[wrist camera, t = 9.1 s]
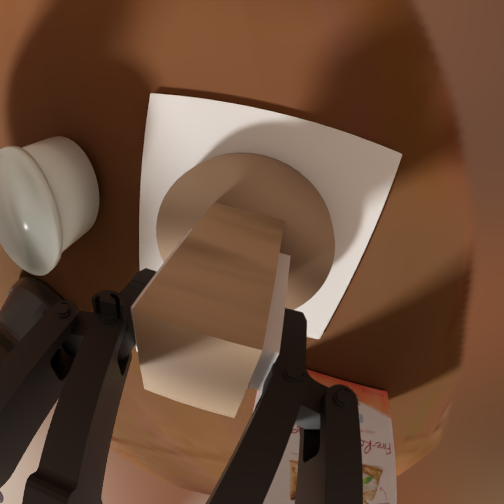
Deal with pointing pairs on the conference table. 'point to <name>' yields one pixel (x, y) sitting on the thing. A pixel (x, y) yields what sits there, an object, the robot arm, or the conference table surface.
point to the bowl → (45, 201)
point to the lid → (227, 275)
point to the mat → (278, 147)
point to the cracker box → (372, 444)
